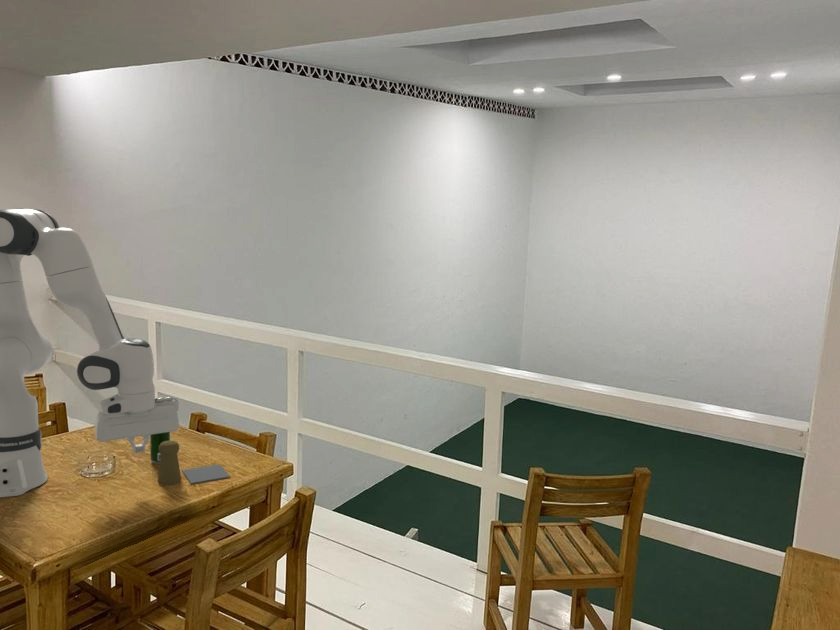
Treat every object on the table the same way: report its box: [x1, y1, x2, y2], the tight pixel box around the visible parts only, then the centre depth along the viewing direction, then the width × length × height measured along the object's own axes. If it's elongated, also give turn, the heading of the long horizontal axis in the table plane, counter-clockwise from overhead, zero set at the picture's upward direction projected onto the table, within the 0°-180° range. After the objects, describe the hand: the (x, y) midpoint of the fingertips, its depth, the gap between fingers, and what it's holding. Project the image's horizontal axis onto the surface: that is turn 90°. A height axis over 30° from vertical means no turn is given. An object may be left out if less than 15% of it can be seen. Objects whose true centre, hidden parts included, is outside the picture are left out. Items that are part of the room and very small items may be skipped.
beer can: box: [149, 432, 171, 465], centre depth 194 cm, size 5×5×12 cm
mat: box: [181, 463, 231, 485], centre depth 186 cm, size 10×10×1 cm
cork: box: [157, 440, 182, 486], centre depth 180 cm, size 6×6×11 cm
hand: (139, 451), depth 176 cm, fingers closed
